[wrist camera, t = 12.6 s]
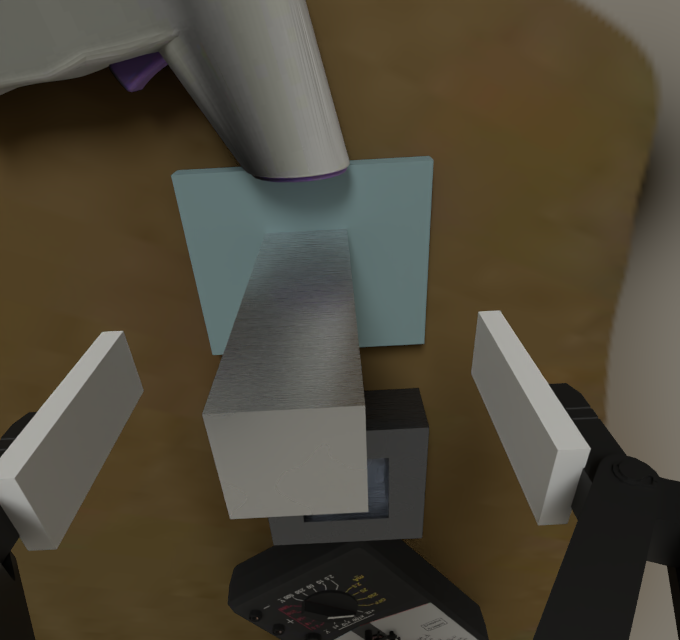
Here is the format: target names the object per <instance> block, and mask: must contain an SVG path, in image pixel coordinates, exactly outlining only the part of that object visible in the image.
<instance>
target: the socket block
mask: <svg viewBox="0 0 680 640" xmlns="http://www.w3.org/2000/svg"><path fill="white" fill-rule="evenodd" d="M364 399H365V415H366V448H367V482H368V512H358V513H339V514H319V515H300V516H281V517H268V519H269V524H270V529H271V534H272V539H273V544H274V545H292V544H312V543H332V542H352V541H372V540H392V539H412V538H422V531H423V515H424V499H425V484H426V468H427V452H428V437H429V425H428V422H427V418H426V414H425V410H424V407H423V403H422V399H421V395H420V391H419V388H412V389H393V390H374V391H364Z"/></svg>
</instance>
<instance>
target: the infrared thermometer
mask: <svg viewBox="0 0 680 640" xmlns="http://www.w3.org/2000/svg"><path fill="white" fill-rule="evenodd" d="M167 65H169V67H170V68H171V69H172V71H173V72H174V73H175V75H176V76H177V78H178V79H179V80H180V82H181V83H182V85H183V86H184V87H185V89H186V90H187V91H188V93H189V94H190V96H191V97H192V98H193V100H194V101H195V103H196V104H197V105H198V107H199V108H200V110H201V111H202V112H203V114H204V115H205V116H206V118H207V119H208V121H209V122H210V123H211V125H212V126H213V128H214V129H215V130H216V132H217V133H218V134H219V136H220V137H221V139H222V140H223V141H224V143H225V144H226V146H227V147H228V148H229V150H230V151H231V152H232V154H233V155H234V157H235V158H236V159H237V161H238V162H239V164H240V165H241V166H242V168H243V169H244V170H245V171H246V172H247V173H248V174H251V175H252V176H253V177H254V178H256V179H259V180H262V181H269V182H308V181H316V180H322V179H327V178H332V177H335V176H338V175H341V174H343V173H345V171H346V170H347V167H348V166H349V164H350V162H349V158H348V154H347V151H346V147H345V144H344V140H343V136H342V133H341V129H340V125H339V122H338V118H337V114H336V111H335V107H334V104H333V100H332V96H331V93H330V89H329V85H328V82H327V78H326V74H325V71H324V67H323V63H322V60H321V56H320V53H319V49H318V45H317V42H316V38H315V34H314V31H313V27H312V23H311V20H310V16H309V12H308V8H307V5H306V1H305V0H0V95H2V94H4V93H6V92H9V91H11V90H13V89H15V88H17V87H22V86H27V85H32V84H37V83H44V82H52V81H59V80H66V79H72V78H78V77H82V76H85V75H88V74H91V73H94V72H97V71H99V70H101V69H104V68H106V67H108V66H109V68H110V70H111V72H112V73H113V75H114V76H115V77H116V79H117V80H118V81H119V82H120V84H121V85H122V86H123V87H124V88H125V89H126V90H127V91H129V92H134V91H138V90H142V89H143V88H144V87H145V85H146V84H147V83H148V82H149V80H150V79H151V78H152V77H153V76H154V75H155V74H156V73H158V72H159V71H160V70H161V69H162V68H164V67H165V66H167Z"/></svg>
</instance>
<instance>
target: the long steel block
mask: <svg viewBox="0 0 680 640" xmlns="http://www.w3.org/2000/svg"><path fill="white" fill-rule="evenodd" d="M202 415H203V419H204V423H205V427H206V430H207V434H208V438H209V442H210V445H211V449H212V453H213V456H214V460H215V464H216V468H217V471H218V475H219V479H220V483H221V486H222V490H223V494H224V498H225V501H226V505H227V509H228V513H229V516H230V519H242V518H261V517H281V516H300V515H319V514H339V513H358V512H368V482H367V448H366V415H365V399H364V389H363V379H362V370H361V360H360V350H359V341H358V331H357V322H356V312H355V302H354V293H353V283H352V273H351V264H350V254H349V244H348V235H347V229H333V230H315V231H297V232H280V233H265V236H264V239H263V241H262V244H261V247H260V250H259V253H258V256H257V259H256V262H255V264H254V267H253V270H252V273H251V276H250V279H249V282H248V284H247V287H246V290H245V293H244V296H243V299H242V302H241V305H240V307H239V310H238V313H237V316H236V319H235V322H234V325H233V327H232V330H231V333H230V336H229V339H228V342H227V345H226V348H225V350H224V353H223V356H222V359H221V362H220V365H219V368H218V371H217V373H216V376H215V379H214V382H213V385H212V388H211V391H210V393H209V396H208V399H207V402H206V405H205V408H204V411H203V414H202Z"/></svg>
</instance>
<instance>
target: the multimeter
mask: <svg viewBox="0 0 680 640" xmlns="http://www.w3.org/2000/svg"><path fill="white" fill-rule="evenodd" d="M228 605H229V606H230V608H231V609H232V610H233V611H234V612H235V613H236V614H238V615H240V616H241V617H243V618H245V619H246V620H248V621H250V622H252V623H253V624H255V625H257V626H259V627H260V628H262V629H264V630H265V631H267V632H269V633H271V634H272V635H274V636H276V637H278V638H279V639H281V640H489V639H488V635H487V630H486V625H485V622H484V619H483V616H482V613H481V610H480V607H479V605H477V604H476V603H475V602H474V601H473V600H471V599H470V598H469V597H468V596H467V595H466V594H464V593H463V592H462V591H461V590H460V589H459V588H457V587H456V586H455V585H454V584H453V583H452V582H450V581H449V580H448V579H447V578H446V577H444V576H443V575H442V574H441V573H440V572H439V571H437V570H436V569H435V568H434V567H433V566H432V565H430V564H429V563H428V562H427V561H426V560H425V559H423V558H422V557H421V556H420V555H419V554H418V553H416V552H415V551H414V550H413V549H412V548H410V547H409V546H408V545H407V544H406V543H405V542H403V541H402V540H401V539H392V540H372V541H352V542H332V543H312V544H292V545H275V546H273V547H271V548H269V549H267V550H265V551H263V552H262V553H260V554H258V555H256V556H254V557H252V558H250V559H248V560H246V561H244V562H243V563H241V564H239V565H237V566H236V567H235V568H234V570H233V574H232V578H231V582H230V585H229V595H228Z"/></svg>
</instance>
